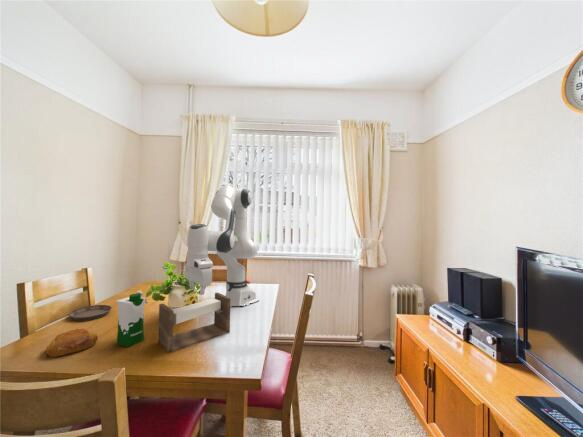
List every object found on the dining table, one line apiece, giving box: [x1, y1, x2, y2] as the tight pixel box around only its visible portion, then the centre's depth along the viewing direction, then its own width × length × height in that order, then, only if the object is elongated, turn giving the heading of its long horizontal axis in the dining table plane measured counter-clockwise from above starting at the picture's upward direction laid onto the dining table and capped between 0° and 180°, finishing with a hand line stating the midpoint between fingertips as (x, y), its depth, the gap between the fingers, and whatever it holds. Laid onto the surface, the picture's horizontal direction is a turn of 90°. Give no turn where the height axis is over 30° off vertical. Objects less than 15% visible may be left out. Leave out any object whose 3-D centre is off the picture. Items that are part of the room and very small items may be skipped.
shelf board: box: [172, 297, 221, 325], centre depth 113 cm, size 22×6×4 cm, turn 144°
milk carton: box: [116, 293, 146, 348], centre depth 107 cm, size 9×9×20 cm
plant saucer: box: [68, 304, 112, 322], centre depth 134 cm, size 18×18×3 cm
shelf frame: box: [157, 292, 231, 354], centre depth 112 cm, size 27×12×16 cm, turn 135°
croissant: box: [44, 328, 99, 358], centre depth 101 cm, size 14×16×8 cm
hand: (196, 292), depth 113 cm, fingers open, 8 cm apart
